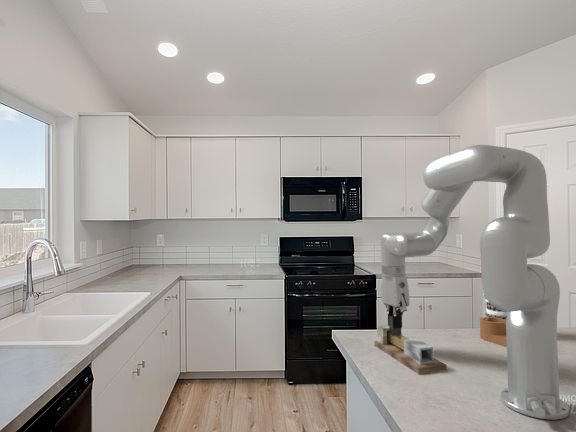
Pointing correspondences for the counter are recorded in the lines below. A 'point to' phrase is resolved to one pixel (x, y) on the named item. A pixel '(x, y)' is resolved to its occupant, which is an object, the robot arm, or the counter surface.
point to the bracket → (493, 330)
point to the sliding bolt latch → (410, 353)
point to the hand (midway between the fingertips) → (395, 326)
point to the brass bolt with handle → (395, 335)
